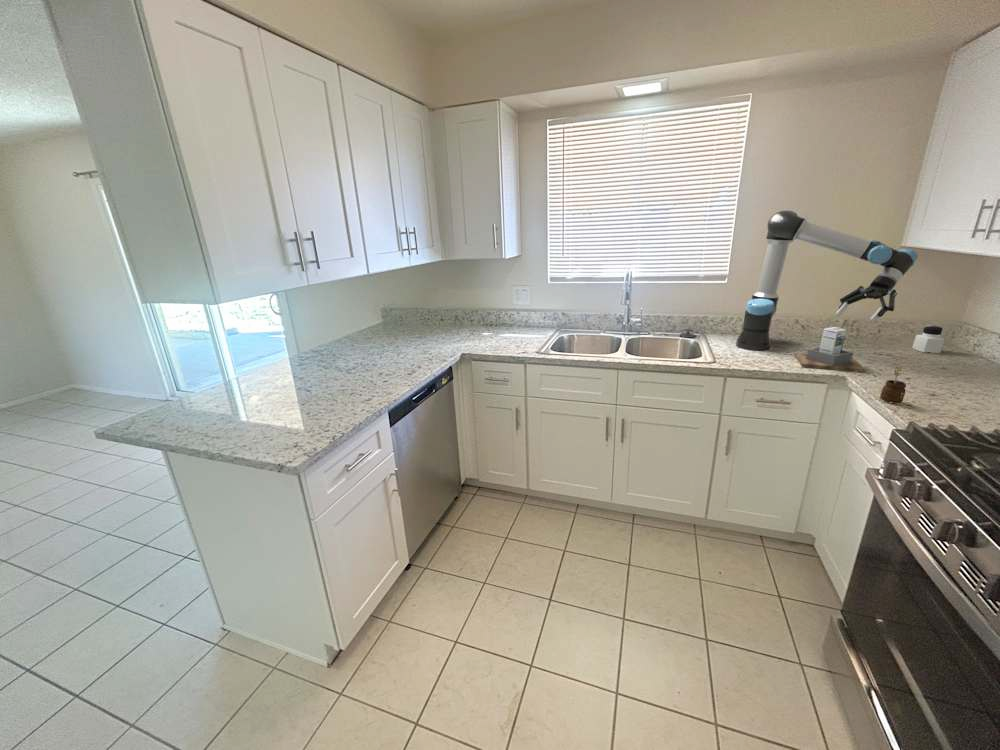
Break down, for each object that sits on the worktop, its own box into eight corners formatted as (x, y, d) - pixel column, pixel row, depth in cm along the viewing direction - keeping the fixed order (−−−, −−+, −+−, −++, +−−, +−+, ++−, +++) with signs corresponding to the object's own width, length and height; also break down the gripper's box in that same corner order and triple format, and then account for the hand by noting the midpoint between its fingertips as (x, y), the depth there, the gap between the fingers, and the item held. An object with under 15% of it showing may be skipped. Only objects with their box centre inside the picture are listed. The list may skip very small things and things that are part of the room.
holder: (805, 358, 188) (807, 349, 186) (823, 355, 192) (825, 345, 190) (832, 366, 178) (835, 356, 176) (850, 362, 181) (853, 352, 180)
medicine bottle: (940, 353, 194) (949, 328, 190) (923, 353, 195) (931, 328, 191) (928, 349, 200) (936, 324, 196) (911, 348, 201) (919, 324, 197)
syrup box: (829, 363, 181) (838, 330, 176) (816, 359, 187) (824, 327, 182) (839, 361, 183) (847, 329, 178) (825, 357, 188) (833, 326, 183)
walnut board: (801, 366, 182) (802, 363, 182) (793, 355, 197) (794, 352, 196) (864, 372, 174) (865, 369, 173) (851, 360, 188) (852, 357, 188)
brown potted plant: (880, 402, 146) (890, 370, 142) (878, 396, 151) (887, 365, 147) (903, 405, 143) (914, 373, 139) (899, 399, 148) (910, 367, 144)
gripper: (923, 290, 172) (889, 329, 172) (856, 283, 194) (826, 318, 195) (919, 278, 169) (884, 318, 169) (852, 272, 191) (821, 308, 191)
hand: (853, 318), depth 182 cm, fingers open, 13 cm apart
